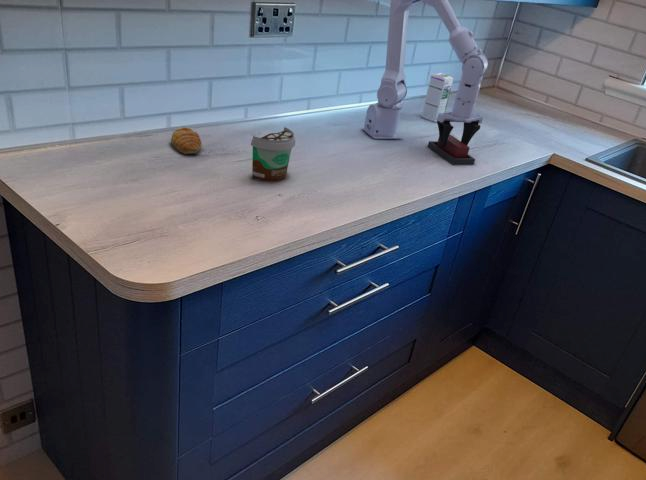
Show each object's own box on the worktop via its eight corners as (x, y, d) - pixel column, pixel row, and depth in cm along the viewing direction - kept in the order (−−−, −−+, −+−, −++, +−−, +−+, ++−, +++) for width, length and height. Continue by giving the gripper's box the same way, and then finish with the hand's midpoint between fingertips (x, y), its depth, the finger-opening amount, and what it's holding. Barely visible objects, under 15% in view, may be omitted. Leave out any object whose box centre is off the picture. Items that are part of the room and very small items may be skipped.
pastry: (206, 156, 141) (206, 140, 139) (177, 156, 138) (177, 140, 136) (196, 141, 148) (197, 126, 146) (168, 141, 145) (168, 126, 143)
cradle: (452, 164, 167) (454, 159, 167) (427, 146, 177) (428, 141, 176) (473, 164, 171) (475, 159, 170) (448, 146, 181) (449, 141, 180)
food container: (269, 188, 132) (273, 145, 127) (247, 179, 135) (251, 136, 129) (301, 175, 142) (307, 134, 136) (281, 166, 144) (285, 126, 138)
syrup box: (435, 122, 200) (446, 78, 192) (420, 117, 202) (431, 73, 194) (443, 120, 204) (454, 77, 196) (428, 114, 206) (439, 71, 198)
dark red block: (454, 160, 169) (458, 147, 167) (436, 147, 176) (439, 134, 174) (465, 160, 171) (469, 147, 169) (446, 147, 178) (450, 134, 176)
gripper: (452, 103, 159) (439, 151, 166) (494, 105, 166) (480, 151, 173) (438, 94, 164) (426, 142, 171) (479, 97, 171) (466, 142, 178)
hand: (452, 146), depth 173 cm, fingers open, 7 cm apart
